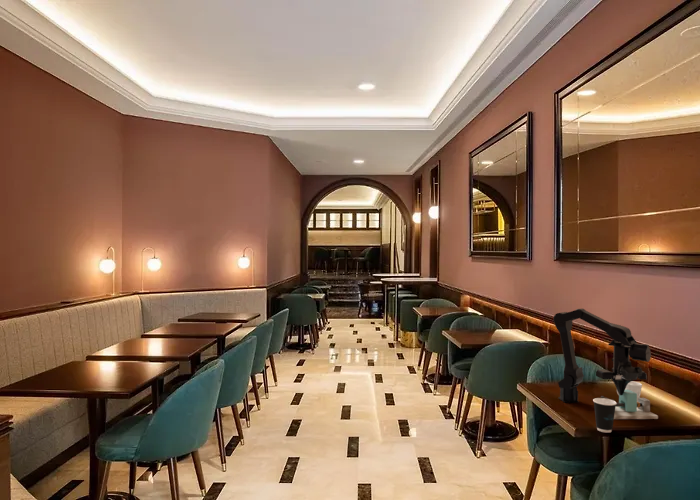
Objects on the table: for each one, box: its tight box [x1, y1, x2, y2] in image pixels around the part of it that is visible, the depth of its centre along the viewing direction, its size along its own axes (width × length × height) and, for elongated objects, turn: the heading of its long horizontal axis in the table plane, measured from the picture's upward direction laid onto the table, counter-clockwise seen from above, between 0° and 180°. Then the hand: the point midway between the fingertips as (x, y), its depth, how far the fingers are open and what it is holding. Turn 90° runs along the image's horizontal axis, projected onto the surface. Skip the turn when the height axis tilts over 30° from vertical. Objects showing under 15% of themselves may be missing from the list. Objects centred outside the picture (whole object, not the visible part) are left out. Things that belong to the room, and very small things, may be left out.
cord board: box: [600, 395, 659, 420], centre depth 209 cm, size 18×14×6 cm
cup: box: [616, 380, 643, 402], centre depth 226 cm, size 7×10×8 cm
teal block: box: [618, 390, 637, 412], centre depth 209 cm, size 4×6×7 cm
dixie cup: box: [592, 397, 618, 433], centre depth 189 cm, size 8×8×11 cm
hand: (620, 395), depth 208 cm, fingers closed
